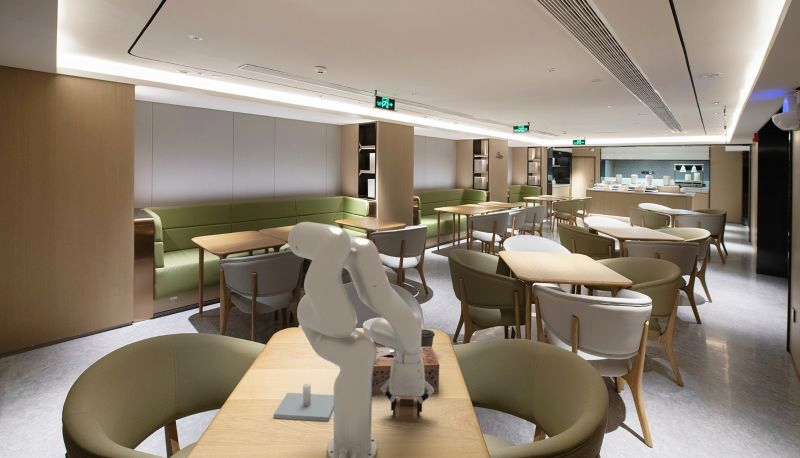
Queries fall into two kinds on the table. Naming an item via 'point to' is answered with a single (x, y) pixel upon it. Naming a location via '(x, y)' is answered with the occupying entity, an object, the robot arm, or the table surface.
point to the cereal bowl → (368, 325)
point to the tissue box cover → (384, 366)
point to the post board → (306, 406)
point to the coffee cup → (427, 338)
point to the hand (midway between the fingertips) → (406, 412)
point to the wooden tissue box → (406, 409)
